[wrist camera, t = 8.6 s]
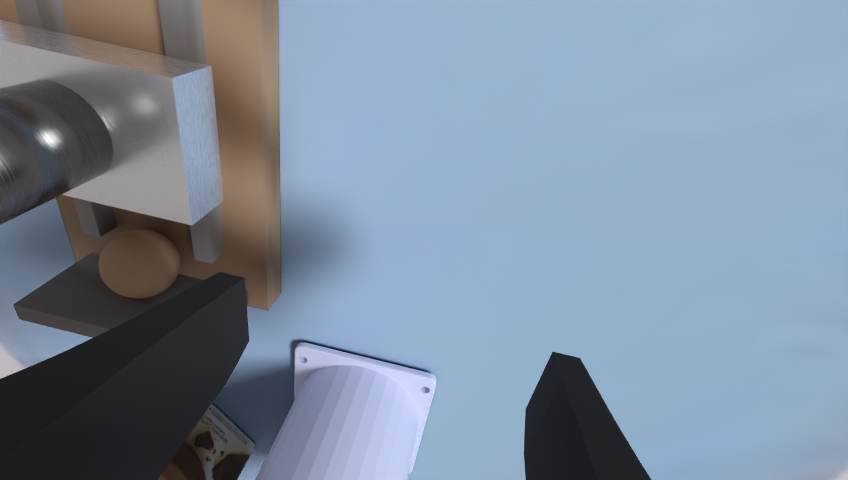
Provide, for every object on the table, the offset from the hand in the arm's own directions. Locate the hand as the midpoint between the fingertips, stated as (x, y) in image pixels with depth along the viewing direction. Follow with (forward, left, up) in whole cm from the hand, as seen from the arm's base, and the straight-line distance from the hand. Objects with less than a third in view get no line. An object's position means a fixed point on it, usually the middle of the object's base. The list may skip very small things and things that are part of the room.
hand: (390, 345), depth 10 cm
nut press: (+2, +12, -9) cm, 15 cm away
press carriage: (+1, +12, -7) cm, 14 cm away
